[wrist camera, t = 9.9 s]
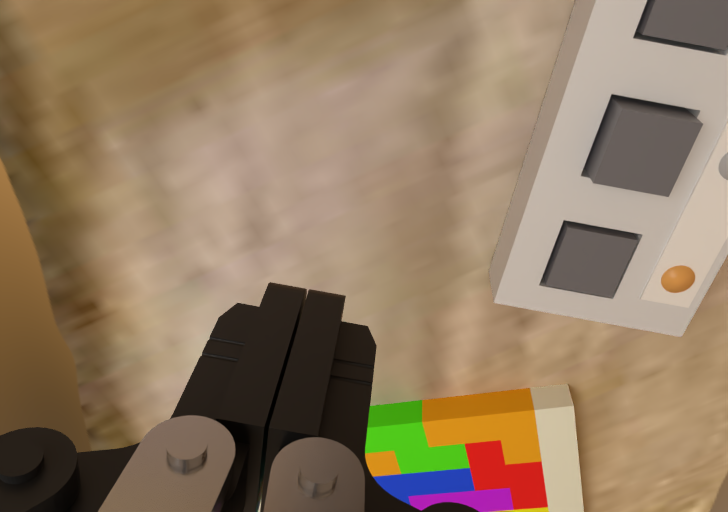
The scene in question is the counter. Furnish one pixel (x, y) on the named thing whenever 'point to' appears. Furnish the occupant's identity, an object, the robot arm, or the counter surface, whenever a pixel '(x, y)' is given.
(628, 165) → the button middle
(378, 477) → the puzzle game
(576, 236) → the button far
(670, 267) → the button panel
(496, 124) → the counter surface
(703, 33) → the button near
